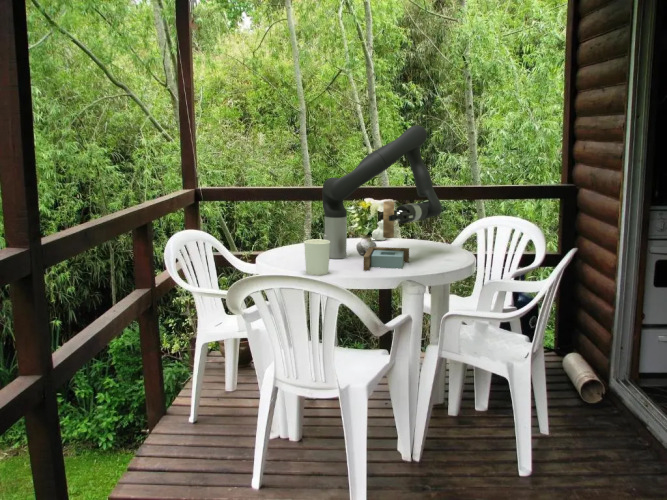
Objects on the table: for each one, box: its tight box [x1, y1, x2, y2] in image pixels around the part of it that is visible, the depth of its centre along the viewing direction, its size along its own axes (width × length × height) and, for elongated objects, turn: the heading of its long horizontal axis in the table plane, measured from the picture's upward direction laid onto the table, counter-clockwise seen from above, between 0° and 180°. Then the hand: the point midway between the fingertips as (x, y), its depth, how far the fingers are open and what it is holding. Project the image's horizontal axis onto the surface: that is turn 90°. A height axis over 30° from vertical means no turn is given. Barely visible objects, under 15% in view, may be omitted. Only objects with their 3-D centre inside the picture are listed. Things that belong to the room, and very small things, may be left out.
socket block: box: [370, 250, 405, 270], centre depth 261 cm, size 12×12×5 cm
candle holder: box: [303, 238, 330, 276], centre depth 246 cm, size 10×10×12 cm
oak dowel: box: [382, 200, 395, 239], centre depth 259 cm, size 4×4×14 cm
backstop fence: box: [363, 246, 410, 271], centre depth 260 cm, size 16×20×6 cm
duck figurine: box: [371, 220, 387, 242], centre depth 317 cm, size 12×8×11 cm
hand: (384, 217), depth 256 cm, fingers closed on oak dowel, 4 cm apart
